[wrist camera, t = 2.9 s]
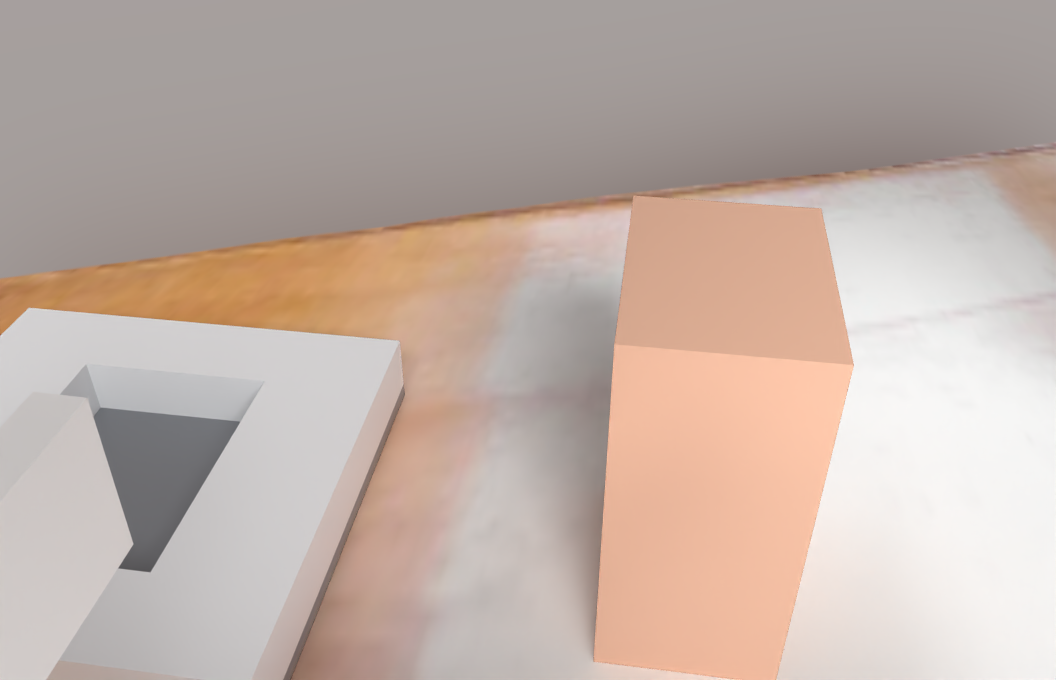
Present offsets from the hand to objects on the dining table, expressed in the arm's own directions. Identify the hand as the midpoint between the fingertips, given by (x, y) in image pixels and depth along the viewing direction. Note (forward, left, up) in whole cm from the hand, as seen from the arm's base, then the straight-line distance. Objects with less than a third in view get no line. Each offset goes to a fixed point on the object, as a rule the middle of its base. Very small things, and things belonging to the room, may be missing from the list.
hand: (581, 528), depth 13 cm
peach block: (-2, -12, -14) cm, 18 cm away
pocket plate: (+16, -12, -14) cm, 24 cm away
